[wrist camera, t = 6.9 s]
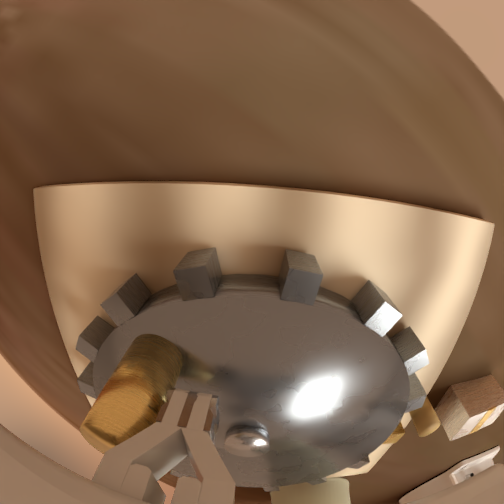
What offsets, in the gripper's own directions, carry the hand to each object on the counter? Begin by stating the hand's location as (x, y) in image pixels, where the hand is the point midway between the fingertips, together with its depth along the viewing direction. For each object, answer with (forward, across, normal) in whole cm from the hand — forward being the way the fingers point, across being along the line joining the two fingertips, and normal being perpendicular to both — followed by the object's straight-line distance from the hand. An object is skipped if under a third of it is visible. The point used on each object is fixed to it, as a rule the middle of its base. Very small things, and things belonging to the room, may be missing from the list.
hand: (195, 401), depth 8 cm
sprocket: (+4, +2, -6) cm, 7 cm away
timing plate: (+6, +2, -6) cm, 8 cm away
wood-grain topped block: (+6, +21, -8) cm, 23 cm away
